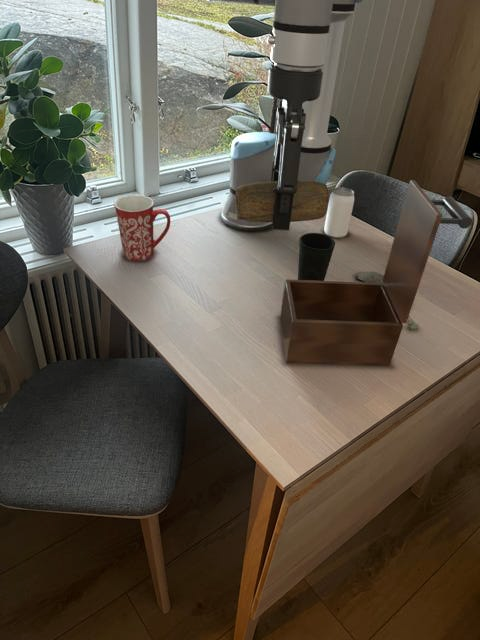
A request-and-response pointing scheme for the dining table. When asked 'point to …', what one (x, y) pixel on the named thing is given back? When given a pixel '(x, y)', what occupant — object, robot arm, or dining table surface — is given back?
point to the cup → (314, 256)
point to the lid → (416, 244)
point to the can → (339, 212)
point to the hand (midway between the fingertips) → (279, 218)
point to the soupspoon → (378, 278)
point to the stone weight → (260, 201)
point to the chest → (338, 323)
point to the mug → (138, 226)
